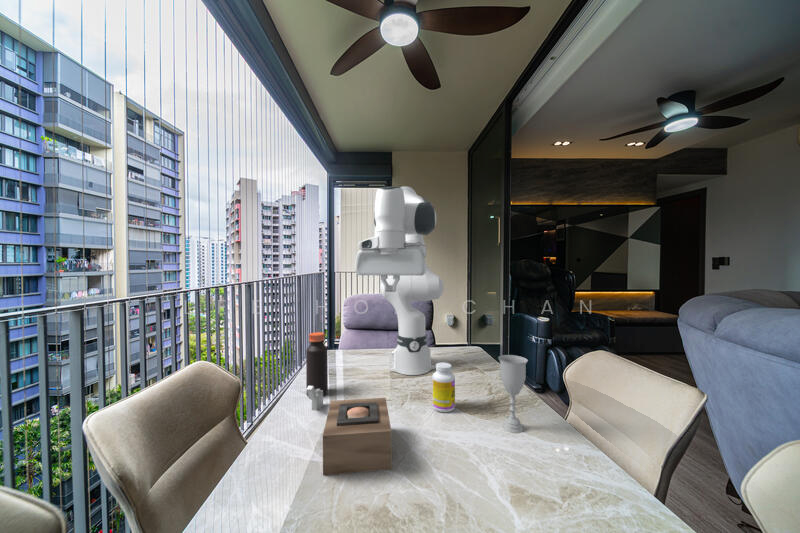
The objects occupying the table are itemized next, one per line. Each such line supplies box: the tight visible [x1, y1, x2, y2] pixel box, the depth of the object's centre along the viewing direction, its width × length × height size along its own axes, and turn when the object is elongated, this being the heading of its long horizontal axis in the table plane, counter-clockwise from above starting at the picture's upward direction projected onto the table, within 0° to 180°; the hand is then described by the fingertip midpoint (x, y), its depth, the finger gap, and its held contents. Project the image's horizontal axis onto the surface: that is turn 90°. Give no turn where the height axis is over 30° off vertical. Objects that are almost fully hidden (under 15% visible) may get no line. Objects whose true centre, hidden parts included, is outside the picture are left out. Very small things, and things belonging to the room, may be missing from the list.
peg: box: [347, 407, 369, 418], centre depth 70 cm, size 5×5×8 cm
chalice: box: [497, 354, 529, 434], centre depth 79 cm, size 7×7×18 cm
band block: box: [322, 397, 392, 476], centre depth 70 cm, size 16×14×9 cm
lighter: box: [305, 386, 324, 412], centre depth 90 cm, size 7×2×8 cm, turn 168°
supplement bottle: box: [432, 362, 456, 413], centre depth 90 cm, size 7×7×13 cm
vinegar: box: [305, 331, 329, 397], centre depth 100 cm, size 7×7×20 cm
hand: (390, 291), depth 86 cm, fingers closed
